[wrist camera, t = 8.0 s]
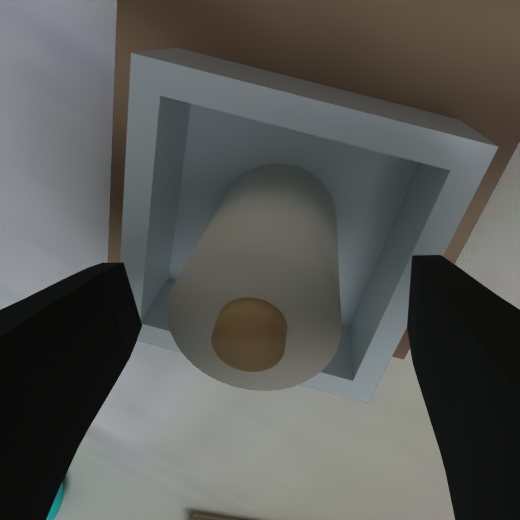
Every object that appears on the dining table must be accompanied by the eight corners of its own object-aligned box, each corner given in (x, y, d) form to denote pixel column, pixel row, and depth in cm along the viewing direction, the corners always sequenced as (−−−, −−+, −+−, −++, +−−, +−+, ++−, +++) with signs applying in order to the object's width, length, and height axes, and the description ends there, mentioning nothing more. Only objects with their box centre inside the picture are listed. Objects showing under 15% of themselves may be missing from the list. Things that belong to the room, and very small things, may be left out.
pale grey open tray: (177, 47, 13) (131, 52, 10) (458, 119, 13) (498, 146, 10) (153, 282, 18) (115, 334, 14) (361, 338, 17) (368, 403, 14)
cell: (215, 167, 14) (138, 264, 8) (335, 160, 13) (342, 261, 8) (230, 269, 16) (176, 406, 10) (336, 268, 15) (342, 413, 10)
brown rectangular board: (161, -516, 9) (137, -593, 8) (766, -381, 9) (830, -441, 8) (119, 265, 19) (106, 280, 18) (399, 341, 19) (403, 360, 17)
